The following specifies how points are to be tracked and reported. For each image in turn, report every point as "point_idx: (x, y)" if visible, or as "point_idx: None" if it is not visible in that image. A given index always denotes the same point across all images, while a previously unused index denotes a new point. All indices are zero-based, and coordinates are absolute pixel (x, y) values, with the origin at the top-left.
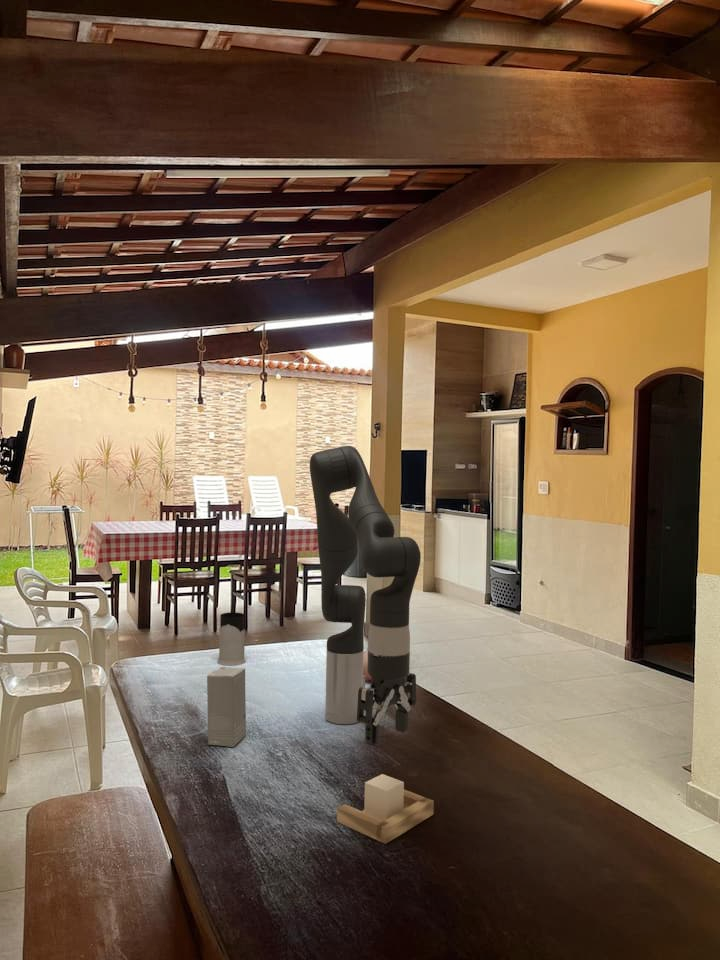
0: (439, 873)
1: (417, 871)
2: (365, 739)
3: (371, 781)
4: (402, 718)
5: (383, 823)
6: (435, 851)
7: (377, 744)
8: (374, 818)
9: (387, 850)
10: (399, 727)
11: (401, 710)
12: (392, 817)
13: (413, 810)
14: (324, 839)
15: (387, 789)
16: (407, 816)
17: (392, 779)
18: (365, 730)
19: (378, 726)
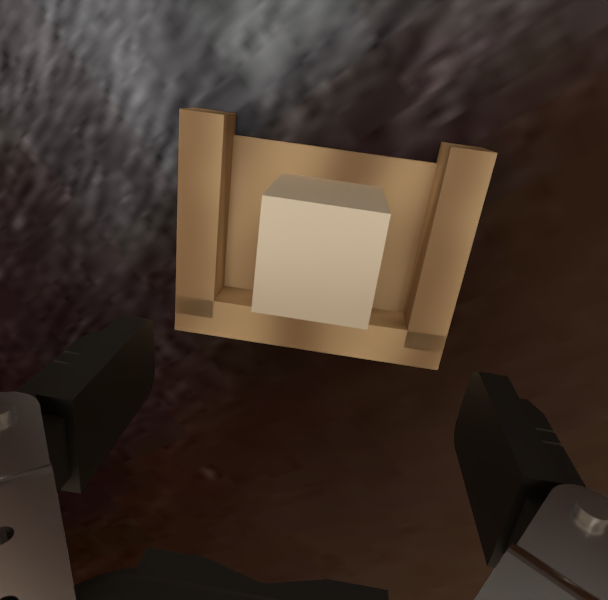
0: (167, 461)
1: (140, 423)
2: (79, 339)
3: (289, 214)
4: (480, 494)
5: (198, 307)
6: (243, 424)
7: (147, 389)
8: (206, 267)
9: (166, 328)
10: (469, 413)
11: (517, 536)
12: (250, 311)
13: (334, 345)
14: (83, 142)
15: (264, 307)
16: (286, 346)
17: (363, 279)
18: (34, 376)
19: (87, 483)
